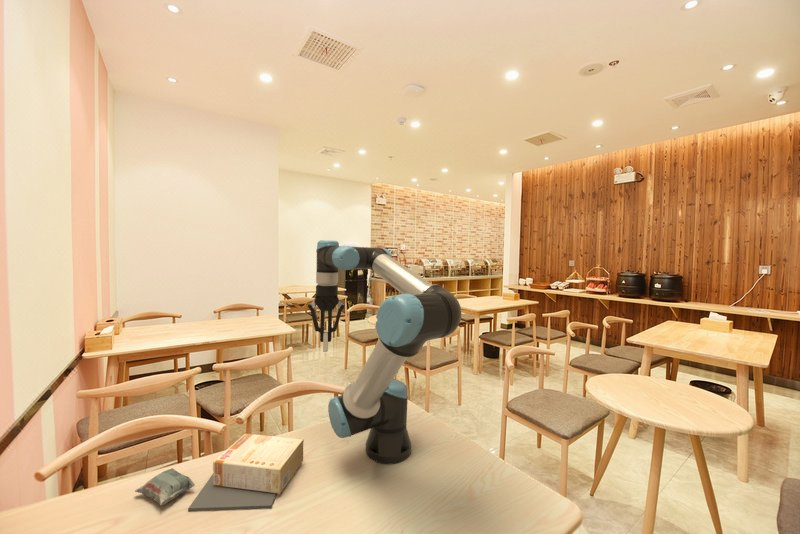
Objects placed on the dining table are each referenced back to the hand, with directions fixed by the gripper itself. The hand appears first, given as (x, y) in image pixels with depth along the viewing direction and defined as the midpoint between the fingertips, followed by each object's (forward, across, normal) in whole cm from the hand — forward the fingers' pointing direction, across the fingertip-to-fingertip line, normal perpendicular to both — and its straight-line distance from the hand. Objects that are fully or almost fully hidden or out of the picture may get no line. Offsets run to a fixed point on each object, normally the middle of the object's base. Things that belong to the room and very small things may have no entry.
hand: (325, 350), depth 118 cm
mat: (+30, +19, +24) cm, 43 cm away
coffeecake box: (+26, +6, +23) cm, 35 cm away
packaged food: (+31, +38, +27) cm, 56 cm away
